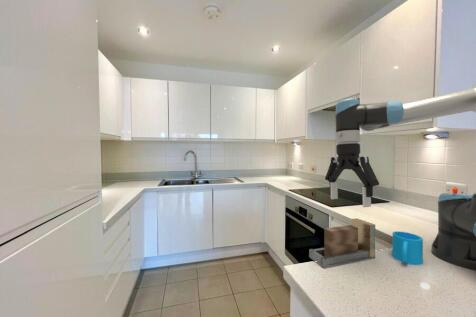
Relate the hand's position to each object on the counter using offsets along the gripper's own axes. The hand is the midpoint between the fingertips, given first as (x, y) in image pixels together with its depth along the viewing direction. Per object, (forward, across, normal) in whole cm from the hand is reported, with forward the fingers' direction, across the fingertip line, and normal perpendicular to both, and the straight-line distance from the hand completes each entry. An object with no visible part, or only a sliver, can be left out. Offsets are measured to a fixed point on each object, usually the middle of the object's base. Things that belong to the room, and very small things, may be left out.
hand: (349, 202), depth 70 cm
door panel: (+19, 0, -4) cm, 19 cm away
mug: (+20, +8, +17) cm, 27 cm away
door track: (+20, 0, -3) cm, 20 cm away
